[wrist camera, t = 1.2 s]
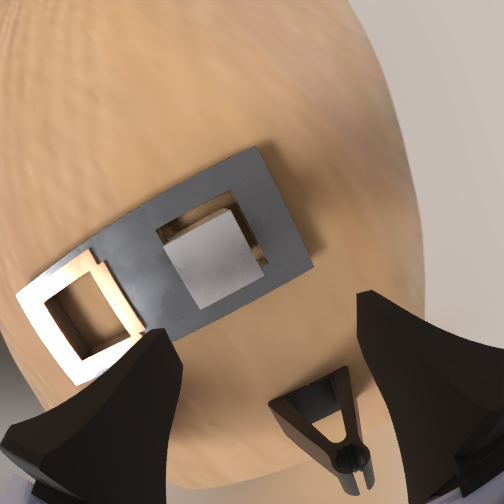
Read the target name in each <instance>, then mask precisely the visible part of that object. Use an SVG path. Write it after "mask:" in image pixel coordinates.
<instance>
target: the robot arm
mask: <svg viewBox="0 0 504 504" xmlns="http://www.w3.org/2000/svg"><path fill="white" fill-rule="evenodd" d="M357 339H358V342H359V345H360V348H361V351H362V353H363V356H364V359H365V361H366V363H367V365H368V367H369V369H370V371H371V373H372V376H373V378H374V380H375V382H376V384H377V386H378V388H379V390H380V392H381V394H382V396H383V398H384V401H385V403H386V405H387V408H388V410H389V413H390V416H391V419H392V422H393V426H394V429H395V433H396V436H397V440H398V444H399V448H400V452H401V457H402V462H403V466H404V472H405V478H406V485H407V492H408V502H409V504H504V349H501V348H496V347H491V346H488V345H484V344H481V343H477V342H474V341H470V340H467V339H464V338H462V337H459V336H456V335H454V334H452V333H449V332H447V331H444V330H442V329H440V328H438V327H436V326H434V325H432V324H430V323H428V322H426V321H424V320H422V319H420V318H418V317H417V316H415V315H413V314H411V313H410V312H408V311H406V310H405V309H403V308H401V307H400V306H398V305H396V304H395V303H393V302H391V301H390V300H388V299H387V298H385V297H383V296H382V295H380V294H378V293H377V292H375V291H373V290H369V291H365V292H361V293H357ZM182 371H183V364H182V362H181V360H180V359H179V357H178V355H177V353H176V351H175V349H174V346H173V344H172V342H171V340H170V338H169V336H168V334H167V332H166V330H165V328H158V329H151V330H150V331H148V332H147V333H146V334H145V335H144V336H142V337H141V338H140V339H139V340H138V341H137V342H136V343H135V344H134V345H133V346H132V347H131V348H130V349H129V350H128V351H127V352H126V353H125V354H124V355H123V356H122V357H120V358H119V359H118V360H117V361H116V362H115V363H114V364H113V365H112V366H111V367H110V368H109V369H107V370H106V371H105V372H104V373H103V374H102V375H101V376H100V377H98V378H97V379H96V380H95V381H94V382H92V383H91V384H90V385H89V386H87V387H86V388H85V389H83V390H82V391H80V392H79V393H78V394H76V395H75V396H73V397H71V398H70V399H68V400H67V401H65V402H63V403H62V404H60V405H58V406H57V407H55V408H53V409H51V410H49V411H47V412H45V413H43V414H41V415H38V416H36V417H34V418H31V419H28V420H25V421H23V422H20V423H17V424H13V425H11V426H10V427H9V429H8V430H7V432H6V434H5V436H4V438H3V439H2V441H1V443H0V450H1V451H2V452H3V453H4V454H5V455H6V456H7V457H8V458H9V459H10V460H11V461H12V462H14V463H15V464H16V465H17V466H18V467H20V468H21V469H22V470H24V471H25V472H26V473H27V474H29V475H30V476H31V477H33V478H34V479H36V481H35V484H33V483H31V482H30V481H28V480H26V479H25V478H23V477H21V476H20V475H18V474H17V473H15V472H12V474H11V476H10V478H9V481H8V483H7V486H6V488H5V491H4V493H3V496H2V498H1V501H0V504H166V461H167V449H168V441H169V435H170V430H171V426H172V422H173V418H174V414H175V410H176V406H177V402H178V397H179V393H180V389H181V382H182Z"/></svg>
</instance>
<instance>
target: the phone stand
mask: <svg viewBox="0 0 504 504" xmlns="http://www.w3.org/2000/svg"><path fill="white" fill-rule="evenodd" d="M268 406H269V408H270V409H271V411H272V413H273V414H274V416H275V418H276V419H277V421H278V423H279V424H280V426H281V428H282V429H283V431H284V433H285V434H286V436H287V437H289V438H290V439H291V440H292V441H293V442H294V443H295V444H297V445H298V446H299V447H300V448H301V449H302V450H304V451H305V452H306V453H307V454H308V455H310V456H311V457H312V458H313V459H315V460H316V461H317V462H318V463H320V464H321V465H322V466H323V467H325V468H326V469H327V470H329V471H330V472H331V473H333V474H334V475H335V476H336V477H337V478H338V479H339V481H340V483H341V485H342V488H343V490H344V491H345V492H346V493H347V494H349V495H353V496H358V495H360V492H359V489H358V487H357V483H356V481H355V478H354V475H353V472H355V473H356V472H357V471H358V470H359V471H361V472H362V471H363V474H364V478H365V482H366V486H367V489H368V490H370V489H371V488H372V487H373V485H374V481H375V478H374V472H373V467H372V461H371V456H370V451H369V449H368V448H367V447H366V446H365V445H364V444H363V439H362V432H361V425H360V418H359V411H358V405H357V400H356V396H355V392H354V388H353V384H352V380H351V376H350V373H349V369H348V366H343V367H341V368H339V369H338V370H336V371H334V372H332V373H330V374H328V375H326V376H324V377H322V378H320V379H318V380H316V381H314V382H312V383H310V384H309V386H304V387H302V388H300V389H297V390H295V391H293V392H291V393H289V394H286V395H284V396H282V397H279V398H277V399H275V400H272V401H270V402H269V403H268ZM338 410H341V412H342V416H343V421H344V425H345V430H346V437H345V439H344V440H343V441H341V442H339V443H332V442H330V441H329V440H328V439H327V438H326V437H325V436H324V435H323V434H322V433H320V432H319V431H318V430H317V429H316V428H315V427H314V426H313V425H312V423H314V422H316V421H318V420H320V419H323V418H325V417H327V416H329V415H331V414H333V413H335V412H337V411H338Z"/></svg>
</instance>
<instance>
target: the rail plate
mask: <svg viewBox="0 0 504 504" xmlns="http://www.w3.org/2000/svg"><path fill="white" fill-rule="evenodd" d="M228 190H229V192H230V194H231V196H232V198H233V200H234V202H235V204H236V206H237V208H238V209H239V211H240V213H241V215H242V217H243V219H244V221H245V223H246V225H247V227H248V229H249V231H250V233H251V235H252V237H253V239H254V241H255V243H256V245H257V247H258V249H259V251H260V252H261V254H262V256H263V258H262V259H261V260H259V261H257V262H258V264H259V266H260V268H261V270H262V272H263V274H264V276H263V277H261V278H259V279H258V280H256V281H254V282H252V283H250V284H248V285H246V286H245V287H243V288H241V289H239V290H237V291H235V292H233V293H231V294H229V295H228V296H226V297H224V298H222V299H220V300H218V301H216V302H214V303H212V304H210V305H209V306H207V307H205V308H203V309H201V310H200V309H199V307H198V305H197V304H196V302H195V301H194V299H193V297H192V296H191V294H190V292H189V291H188V289H187V287H186V286H185V284H184V282H183V281H182V279H181V277H180V276H179V274H178V272H177V270H176V269H175V267H174V265H173V263H172V262H171V260H170V258H169V256H168V255H167V253H166V251H165V249H164V247H163V246H164V245H165V244H166V243H167V240H166V238H165V236H164V234H163V232H162V231H161V229H160V227H162V226H163V225H165V224H167V223H169V222H170V221H172V220H174V219H176V218H177V217H179V216H181V215H183V214H185V213H186V212H188V211H190V210H192V209H194V208H196V207H197V206H199V205H201V204H203V203H205V202H207V201H209V200H211V199H213V198H214V197H216V196H218V195H220V194H222V193H224V192H226V191H228ZM313 267H314V265H313V263H312V261H311V258H310V256H309V254H308V252H307V249H306V247H305V245H304V243H303V241H302V238H301V236H300V234H299V232H298V230H297V228H296V226H295V223H294V221H293V219H292V217H291V215H290V213H289V211H288V209H287V207H286V204H285V202H284V200H283V198H282V196H281V194H280V192H279V190H278V188H277V186H276V184H275V182H274V180H273V178H272V176H271V174H270V172H269V170H268V168H267V166H266V164H265V162H264V160H263V158H262V156H261V154H260V152H259V150H258V149H257V147H256V146H254V147H252V148H250V149H247V150H245V151H243V152H241V153H239V154H237V155H235V156H232V157H230V158H228V159H226V160H224V161H222V162H220V163H218V164H216V165H214V166H212V167H210V168H208V169H206V170H204V171H202V172H200V173H199V174H197V175H195V176H193V177H191V178H189V179H187V180H185V181H183V182H182V183H180V184H178V185H176V186H174V187H173V188H171V189H169V190H167V191H165V192H164V193H162V194H160V195H158V196H157V197H155V198H153V199H152V200H150V201H148V202H146V203H145V204H143V205H141V206H140V207H138V208H136V209H135V210H133V211H132V212H130V213H128V214H127V215H125V216H124V217H122V218H120V219H119V220H117V221H116V222H114V223H113V224H111V225H109V226H108V227H106V228H105V229H103V230H102V231H100V232H99V233H97V234H96V235H94V236H93V237H91V238H90V239H89V240H87V241H86V242H84V243H83V244H81V245H80V246H78V247H77V248H76V249H74V250H73V251H71V252H70V253H69V254H67V255H66V256H65V257H63V258H62V259H61V260H59V261H58V262H57V263H55V264H54V265H53V266H51V267H50V268H49V269H47V270H46V271H45V272H44V273H42V274H41V275H40V276H38V277H37V278H36V279H35V280H33V281H32V282H31V283H30V284H29V285H27V286H26V287H25V288H24V289H23V290H21V291H20V292H19V293H18V294H17V295H16V297H17V299H18V300H19V302H20V304H21V306H22V308H23V309H24V311H25V313H26V315H27V316H28V318H29V320H30V321H31V323H32V325H33V326H34V328H35V329H36V331H37V333H38V334H39V336H40V337H41V339H42V340H43V342H44V343H45V345H46V346H47V348H48V349H49V351H50V352H51V353H52V355H53V356H54V358H55V359H56V360H57V362H58V363H59V364H60V366H61V367H62V368H63V370H64V371H65V372H66V373H67V375H68V376H69V377H70V378H71V380H72V381H73V382H74V383H75V385H76V386H77V385H79V384H82V383H84V382H86V381H89V380H91V379H93V378H96V377H98V376H100V375H102V374H103V373H104V372H105V371H106V370H107V369H109V368H110V367H111V366H112V365H113V364H114V363H115V362H116V361H117V360H118V359H119V358H120V357H122V356H123V355H124V354H125V353H126V352H127V351H128V350H129V349H130V348H131V347H132V346H133V345H134V344H135V343H136V342H137V341H138V340H139V339H140V338H141V337H142V336H144V335H145V334H146V333H147V332H148V331H150V330H151V329H158V328H165V330H166V332H167V334H168V336H169V338H170V340H171V342H174V341H176V340H178V339H180V338H182V337H184V336H186V335H188V334H190V333H192V332H194V331H196V330H198V329H200V328H202V327H204V326H206V325H208V324H210V323H212V322H214V321H216V320H218V319H220V318H222V317H224V316H225V315H227V314H229V313H231V312H233V311H235V310H237V309H239V308H241V307H243V306H245V305H246V304H248V303H250V302H252V301H254V300H256V299H258V298H259V297H261V296H263V295H265V294H267V293H269V292H271V291H272V290H274V289H276V288H278V287H280V286H281V285H283V284H285V283H287V282H289V281H290V280H292V279H294V278H296V277H298V276H299V275H301V274H303V273H305V272H306V271H308V270H310V269H312V268H313ZM88 271H90V272H91V273H92V275H93V277H94V279H95V280H96V282H97V284H98V286H99V287H100V289H101V291H102V292H103V294H104V296H105V297H106V299H107V300H108V302H109V304H110V305H111V307H112V308H113V310H114V311H115V313H116V314H117V316H118V318H119V319H120V321H121V322H122V323H123V325H124V326H125V328H126V329H127V330H126V331H124V332H122V333H121V334H119V335H117V336H115V337H113V338H111V339H109V340H107V341H105V342H103V343H101V344H99V345H97V346H95V347H93V348H91V349H90V348H89V347H88V345H87V344H86V343H85V341H84V340H83V338H82V337H81V335H80V334H79V332H78V331H77V329H76V328H75V326H74V325H73V323H72V322H71V320H70V319H69V317H68V316H67V314H66V312H65V311H64V309H63V308H62V306H61V304H60V303H59V301H58V299H57V297H56V296H55V294H56V293H57V292H59V291H60V290H62V289H63V288H64V287H66V286H67V285H69V284H70V283H72V282H73V281H75V280H76V279H78V278H79V277H81V276H82V275H84V274H85V273H87V272H88Z"/></svg>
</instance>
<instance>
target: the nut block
mask: <svg viewBox="0 0 504 504" xmlns="http://www.w3.org/2000/svg"><path fill="white" fill-rule="evenodd" d="M163 247H164V249H165V251H166V253H167V255H168V256H169V258H170V260H171V262H172V263H173V265H174V267H175V269H176V270H177V272H178V274H179V276H180V277H181V279H182V281H183V282H184V284H185V286H186V287H187V289H188V291H189V292H190V294H191V296H192V297H193V299H194V301H195V302H196V304H197V305H198V307H199V309H200V310H201V309H203V308H205V307H207V306H209V305H210V304H212V303H214V302H216V301H218V300H220V299H222V298H224V297H226V296H228V295H229V294H231V293H233V292H235V291H237V290H239V289H241V288H243V287H245V286H246V285H248V284H250V283H252V282H254V281H256V280H258V279H259V278H261V277H263V276H264V274H263V272H262V270H261V268H260V266H259V264H258V262H257V260H256V258H255V257H254V255H253V253H252V251H251V249H250V247H249V245H248V243H247V241H246V239H245V237H244V235H243V233H242V231H241V229H240V228H239V226H238V224H237V222H236V220H235V218H234V216H233V214H232V212H231V210H229V209H226V208H221V209H219V210H218V211H216V212H214V213H212V214H210V215H208V216H206V217H204V218H203V219H201V220H199V221H197V222H195V223H193V224H192V225H190V226H188V227H186V228H184V229H182V230H181V231H179V232H177V233H176V234H175V235H174V236H173V237H172V238H171V239H170V240H169V241H168V242H167V243H166V244H165V245H164V246H163Z"/></svg>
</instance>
